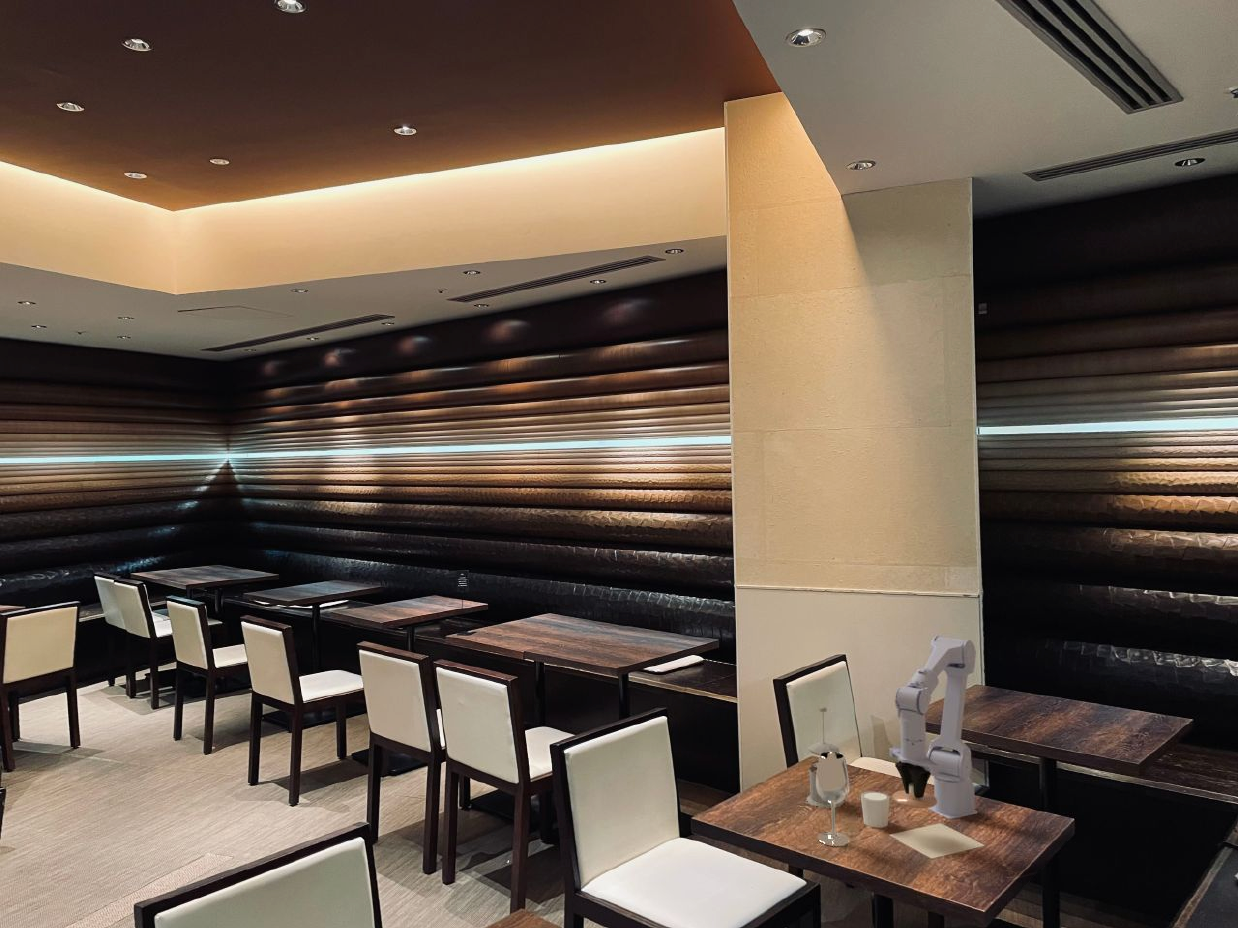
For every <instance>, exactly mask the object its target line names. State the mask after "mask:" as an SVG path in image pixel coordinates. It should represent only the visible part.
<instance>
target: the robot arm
mask: <svg viewBox="0 0 1238 928" xmlns="http://www.w3.org/2000/svg"><path fill="white" fill-rule="evenodd" d="M929 652H930V656H929V658H928V660H927V661H926V663H925V665H924V667H920V668H918V669H916V671H915V672H914V674H913V675H912V677H911V678H910V679H909V681H908V682H907V683H906V685H905V686H904V685H903V686H901V687H899V688H898V689H897V690H896V693H895V699H894V704H895V708H896V710H897V717H898V718H899V722H900V723H899V725H900V726H899V728H900V734H899V735H900V748H898V747H891V748H889V749H888V750H889V757H891V758H895V759H898V760H897V762H894V764H895V765H894V766H895V768H896V769H897V771H898V774H899V775H900V778H901V781H902V785H903V789H904V790H905V792H906V793H907V794H909V784H910V783H913V788H914V796H915V798H921V797H923V796H924V792H925V790H926V787H927V784H928V781H929V780H930V778H931V776H932V777H933V780H934V782H933V784H934V785H933V786H934V787H933V790H934V792H933V793H934V797H936V799H937V804H936V805H935V806H933V807H930V808H926V809H927V810H929V811H931V812H933V813H936V814H938V815H940V816H942V817H944V818H946V819H949V820H953V819H958V818H962V817H966V816H971V815H977V814H978V811H977V810H976V805H975V804H976V802H975V801H976V800H975V785H974V783H973V779H971V778H970V775H971V773H972V767H973V764H972V751H971V749H970V748H969V746H968V745H967V744H966V743H964V741H963V740H962V732H963V731H962V730H963V722H964V721H963V720H964V711H965V702H966V693H967V684H968V675H970V674H974V671H975V665H976V657H977V655H976V654H977V650H976V647H975V644H974V642H973V641H972V640H971V639H962V638H953V637H945V636H944V637H943V636H940V635H935V636H934V637H933V638H932V639H931V641H930V646H929ZM943 671H944V673H945V674H946V681H945V682H946V684H945V690H944V691H945V692H944V699H943V700H944V701H943V708H942V709H943V710H942V717H941V726H940V735H939V736H938V737H936V738H934V739H933V740H931V741H930V743H929V746H928V747H929V748H928V750H927V742H926V741H927V740H926V739H927V738H926V736H927V735H926V734H927V733H926V730H927V729H926V714H927V712H928V710H929V708H930V702H931V700H932V695H933V692H934V691H935V690H936V688H937V686H938V685H939V675H940V674H941V673H942V672H943ZM947 749H949V750H947ZM952 750H953V751H952ZM956 751H957V752H956Z"/></svg>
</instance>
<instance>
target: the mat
mask: <svg viewBox="0 0 1238 928" xmlns="http://www.w3.org/2000/svg"><path fill="white" fill-rule="evenodd" d="M888 836H890V837H891V838H892V839H894V840H897V841H899V842H900V843H902V844H904V845H906V846H907V847H910V848H911V849H913V850H915V851H917V852H919V853H920V854H921V855H924V856H925V857H927V858H929V859H931V860H932V859H936V858H940V857H945V856H949V855H953V854H957V853H961V852H964V851H968V850H969V851H970V850H974V849H977V848H982V847H986V845H985V844H984V843H981V842H979V841H977V840H975V839H973V838H971V837H969V836H967V835H964V834H963V833H961V832H959V831H956V830H955V829H953V828H951V827H949V826H947V825H945V824H943V823H936V824H931V825H930V824H929V825H927V826H923V827H918V828H914V829H909V830H904V831H900V832H895V833H891V834H888Z"/></svg>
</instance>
